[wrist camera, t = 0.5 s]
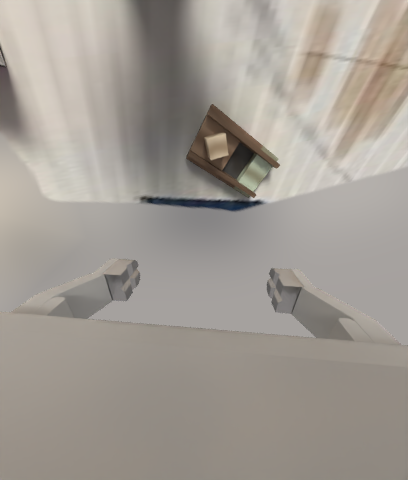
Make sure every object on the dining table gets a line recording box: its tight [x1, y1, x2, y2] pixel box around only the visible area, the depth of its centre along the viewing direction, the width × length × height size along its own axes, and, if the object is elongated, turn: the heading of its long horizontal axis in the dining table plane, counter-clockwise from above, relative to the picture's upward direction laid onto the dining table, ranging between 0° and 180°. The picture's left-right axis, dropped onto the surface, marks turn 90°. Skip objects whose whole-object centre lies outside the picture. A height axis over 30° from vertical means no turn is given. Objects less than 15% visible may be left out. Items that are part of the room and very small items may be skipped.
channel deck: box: [186, 104, 280, 198], centre depth 46 cm, size 14×24×6 cm, turn 59°
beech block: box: [204, 133, 228, 160], centre depth 40 cm, size 4×4×8 cm
